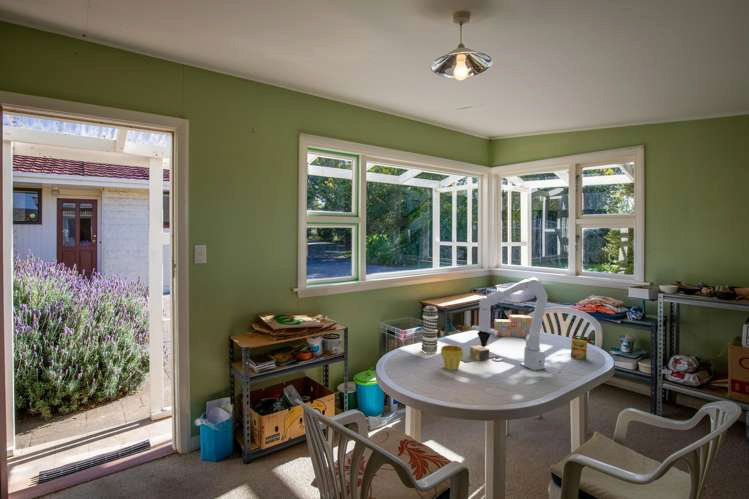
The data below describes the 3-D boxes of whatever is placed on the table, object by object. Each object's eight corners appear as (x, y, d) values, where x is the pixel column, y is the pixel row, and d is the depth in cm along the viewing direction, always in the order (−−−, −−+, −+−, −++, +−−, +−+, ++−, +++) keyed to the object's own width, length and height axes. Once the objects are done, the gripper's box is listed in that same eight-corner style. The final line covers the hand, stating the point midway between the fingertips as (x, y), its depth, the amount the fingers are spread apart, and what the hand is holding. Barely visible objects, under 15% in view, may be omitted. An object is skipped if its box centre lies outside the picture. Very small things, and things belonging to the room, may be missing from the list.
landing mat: (499, 356, 222) (499, 356, 222) (465, 362, 213) (465, 361, 213) (478, 346, 238) (478, 346, 238) (445, 351, 229) (445, 351, 229)
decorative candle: (429, 355, 223) (430, 309, 221) (417, 351, 230) (418, 306, 228) (441, 352, 229) (442, 307, 227) (428, 347, 236) (429, 304, 234)
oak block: (489, 349, 217) (479, 345, 225) (479, 350, 215) (470, 346, 222) (488, 358, 218) (479, 354, 225) (479, 360, 215) (469, 355, 223)
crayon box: (570, 357, 222) (571, 336, 221) (570, 356, 225) (571, 334, 224) (586, 360, 218) (587, 338, 217) (586, 358, 221) (587, 336, 220)
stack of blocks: (496, 336, 260) (496, 316, 259) (493, 333, 266) (494, 314, 265) (531, 337, 259) (532, 317, 258) (528, 334, 265) (529, 315, 264)
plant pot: (446, 372, 200) (446, 352, 199) (437, 364, 210) (437, 345, 209) (466, 370, 202) (466, 350, 202) (456, 363, 212) (456, 344, 212)
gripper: (501, 321, 212) (500, 347, 214) (477, 316, 223) (476, 341, 225) (493, 324, 208) (492, 350, 209) (469, 318, 219) (468, 343, 220)
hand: (483, 346), depth 217 cm, fingers closed
